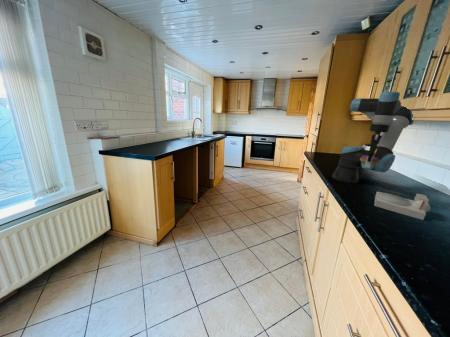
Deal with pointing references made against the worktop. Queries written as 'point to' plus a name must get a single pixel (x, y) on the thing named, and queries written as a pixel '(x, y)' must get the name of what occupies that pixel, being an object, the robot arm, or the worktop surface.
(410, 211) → the scale
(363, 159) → the cupcake
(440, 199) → the worktop surface
